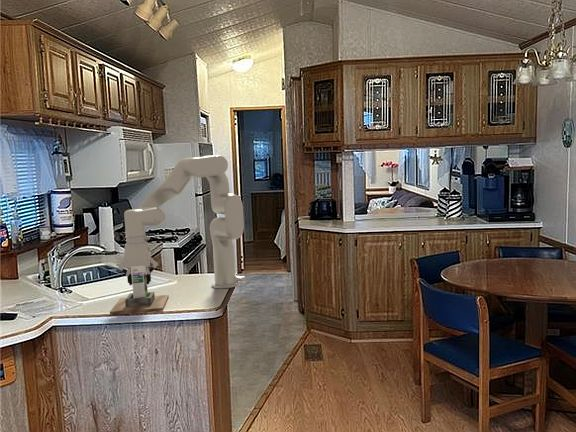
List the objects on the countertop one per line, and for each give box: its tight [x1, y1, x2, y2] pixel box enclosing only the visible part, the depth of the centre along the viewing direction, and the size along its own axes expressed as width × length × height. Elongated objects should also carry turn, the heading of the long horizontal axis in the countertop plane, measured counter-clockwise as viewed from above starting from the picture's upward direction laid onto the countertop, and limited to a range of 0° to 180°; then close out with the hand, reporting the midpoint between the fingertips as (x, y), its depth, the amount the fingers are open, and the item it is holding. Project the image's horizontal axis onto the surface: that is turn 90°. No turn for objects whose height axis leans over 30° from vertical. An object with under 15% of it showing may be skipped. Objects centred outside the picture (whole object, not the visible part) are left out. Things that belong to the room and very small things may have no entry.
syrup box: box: [131, 266, 149, 298], centre depth 211 cm, size 6×6×14 cm
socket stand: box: [109, 291, 170, 316], centre depth 212 cm, size 20×20×4 cm
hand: (139, 283), depth 211 cm, fingers closed on syrup box, 6 cm apart
